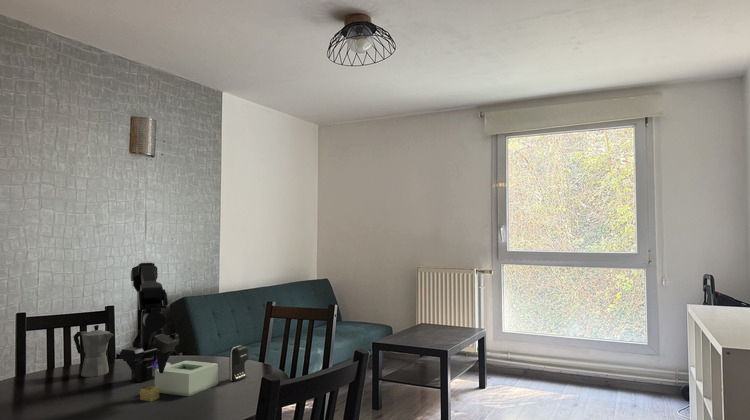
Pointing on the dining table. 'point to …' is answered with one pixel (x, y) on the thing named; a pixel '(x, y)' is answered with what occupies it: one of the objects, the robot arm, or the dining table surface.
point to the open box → (187, 378)
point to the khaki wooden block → (149, 393)
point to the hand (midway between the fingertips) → (150, 376)
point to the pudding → (155, 365)
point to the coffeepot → (94, 351)
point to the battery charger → (238, 362)
